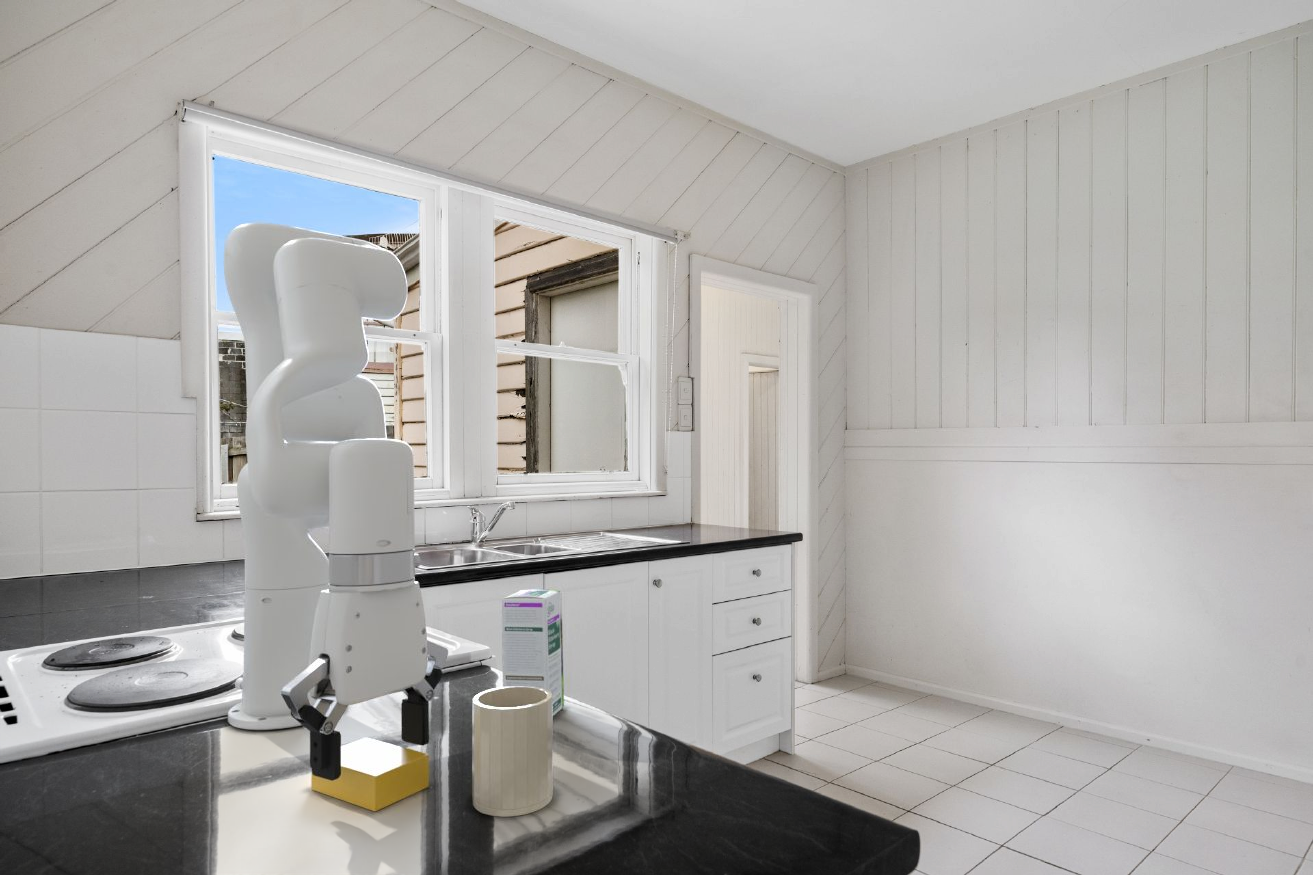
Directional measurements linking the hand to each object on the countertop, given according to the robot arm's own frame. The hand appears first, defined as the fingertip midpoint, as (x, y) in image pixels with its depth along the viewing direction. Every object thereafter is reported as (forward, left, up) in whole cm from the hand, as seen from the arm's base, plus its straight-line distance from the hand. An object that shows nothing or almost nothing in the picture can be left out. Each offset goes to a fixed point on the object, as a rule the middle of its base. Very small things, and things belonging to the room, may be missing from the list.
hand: (373, 758), depth 70 cm
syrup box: (-2, +24, -3) cm, 25 cm away
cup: (+12, +5, -3) cm, 14 cm away
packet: (-1, 0, -3) cm, 3 cm away
